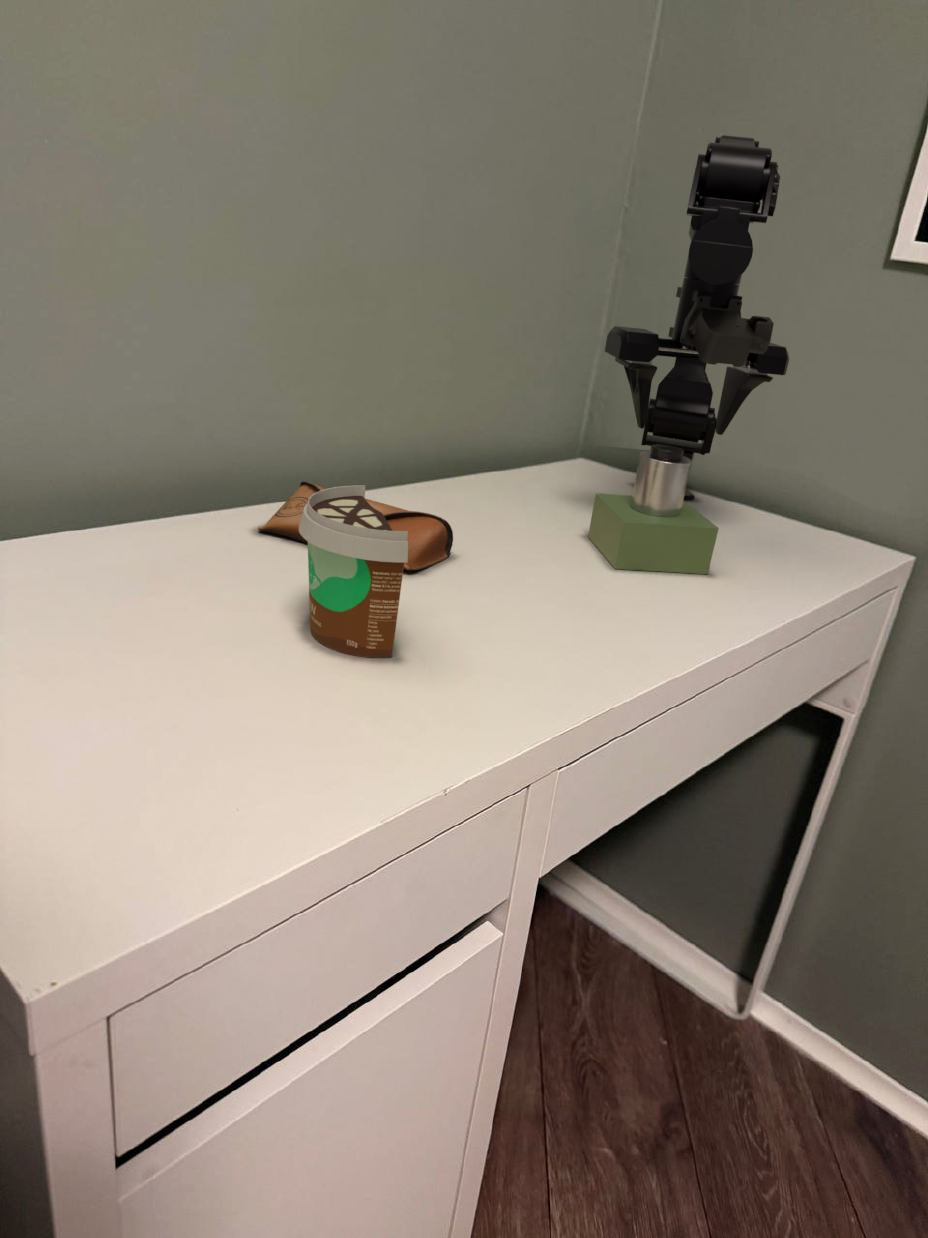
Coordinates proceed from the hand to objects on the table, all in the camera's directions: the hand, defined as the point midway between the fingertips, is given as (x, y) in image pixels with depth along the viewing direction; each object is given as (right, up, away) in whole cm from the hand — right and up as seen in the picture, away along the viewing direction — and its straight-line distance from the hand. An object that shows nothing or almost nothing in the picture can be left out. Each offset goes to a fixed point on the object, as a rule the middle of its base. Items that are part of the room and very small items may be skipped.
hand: (680, 430), depth 98 cm
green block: (-5, -14, -4) cm, 15 cm away
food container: (-34, -22, -31) cm, 51 cm away
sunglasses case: (-35, -14, -11) cm, 39 cm away
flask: (-4, -9, -6) cm, 12 cm away
